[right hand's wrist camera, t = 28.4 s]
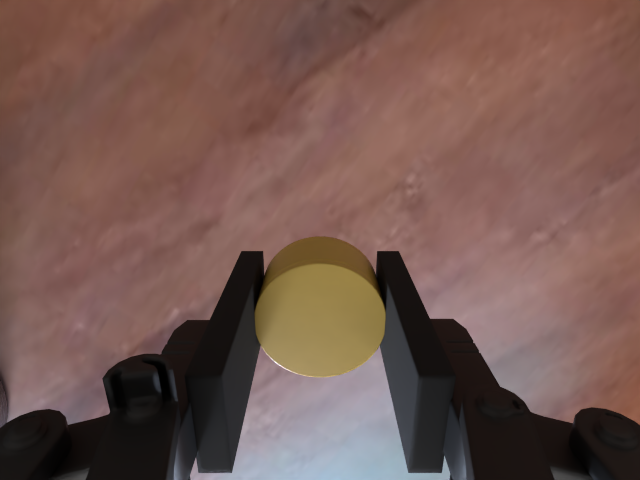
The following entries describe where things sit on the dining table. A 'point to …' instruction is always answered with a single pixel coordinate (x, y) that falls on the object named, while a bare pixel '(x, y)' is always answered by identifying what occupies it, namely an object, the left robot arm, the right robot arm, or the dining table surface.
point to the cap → (320, 308)
